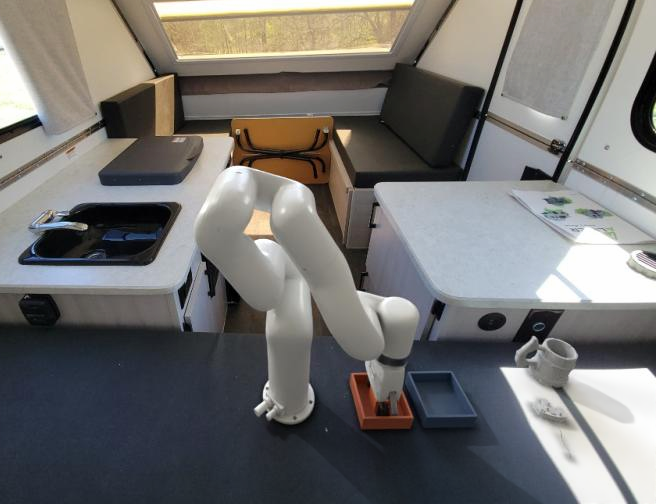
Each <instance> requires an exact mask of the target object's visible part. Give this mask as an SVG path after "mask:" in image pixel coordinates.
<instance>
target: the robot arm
mask: <svg viewBox="0 0 656 504" xmlns="http://www.w3.org/2000/svg"><path fill="white" fill-rule="evenodd" d="M255 210H256V211H259V212H264V213H267V214H269V227H270V232H271V234H272V236H273V237H274V239H275V240H276V241H274V240H271V239H267V238H259V239H255V240H254V239H252V238H251V236H249V235H247V234H246V233H244V232H245V231H246V229H247V227H248V226H249V224H250V222H251V220H252V218H253V216H254V211H255ZM192 232H193V233H192V236H193V239H194V243H195V245H196V247H197V249H198V250H199V251H200V252H201V254H202V255H203V256H204V257H205V258H206V259H207V260H208V261H209V262H210V263H212V265H214V266H215V267H216V268H217V270H218V271H219V272H220V274H221V275H222V276H223V277H224V278H225V280H226V281H227V282H228V283H229V284H230V286H232V288H233V290H235V291H236V292H237V294H238V295H239V296H240V297H241V298H242V299H243V300H244V301H245V303H246V304H247V305H249V306H250V307H251V308H253V309H254V310H256V311H259V312H266V316H265V317H266V318H265V339H266V346H267V347H266V349H267V369H268V370H267V371H268V372H267V373H268V380H267V381H266V383H265V384H264V388H263V391H262V402H261V403H259V404H258V405H257V406H256V407H255V408H253V412H254V414H255V415H256V417H258V418H259V417H262V415H263V414H264V413H265V412H267V413H266V414H265V418H266V420H267V421H269V422H270V421H271V420H272V419H273V420H275V421H276V422H278V423H281V424H284V425H297V424H299V423H303V422H304V421H305V420H307V419H308V418H309V416H310V415H311V414H312V412H313V409H314V408H315V407H314V406H315V392H314V389H313V387H312V385H311V383H310V371H311V370H310V369H311V353H312V351H311V349H312V343H313V338H314V320H313V319H314V318H313V307H312V298H313V300H314V302H315V304H316V306H317V309H318V310H319V313H320V315H321V317H322V319H323V321H324V323H325V325H326V327H327V329H328V331H329V332H330V334H331V335H332V337H333V338H334V339H335V341H336V342H337V344H338V345H339V346H340V347H341V349H342V350H343V351H344V352H345V353H346V354H347V355H348V356H349V357H351V358H353V359H355V360H358V361H360V362H364V366H365V370H366V373H367V374H368V380H367V387H368V388H370V386H371V387H372V390H373V393H374V396H375V398H376V399H377V401H379V402H380V403H379V404H378V405H377V409H376V416H390V415H391V416H398V410H397V401H398V400H399V398H400V396H401V392H402V390H403V387H404V383H405V375H406V374H405V373H406V371H405V370H406V366H407V364H408V361H409V358H410V355H411V351H412V348H413V344H414V341H415V337H416V334H417V330H418V327H419V322H420V313H419V309H418V308H417V307H416V305H415V304H413V302H411V301H410V300H408V299H406V298H403V297H401V296H389V297H386V296H382V295H377V294H373V293H370V292H366V291H362V290H357V288H356V285H355V282H354V278H353V274H352V271H351V268H350V266H349V263H348V261H347V258H346V257H345V255H344V253H343V252H342V251H341V250H340V248H339V246H338V244H337V243H336V242H335V240H334V238H333V237H332V235H331V233H330V232H329V231H328V229H327V227H326V226H325V224H324V223H323V221H322V219H321V218H320V216H319V215H318V211H317V206H316V200H315V196H314V193H313V192H312V190H311V189H310V188H309V187H308V186H306V185H305V184H303V183H302V182H299V181H296V180H295V179H290V178H287V177H284V176H281V175H277V174H273V173H270V172H266V171H264V170H263V171H262V170H259V169H256V168H252V167H249V166H243V165H234V166H229V167H227V168H225V169H224V170H222V171H221V172H220V173H219V175H218V176H217V178H216V180H215V181H214V183H213V186H212V187H211V189H210V191H209V193H208V194H207V196H206V199H205V201H204V203H203V204H202V206H201V208H200V210H199V212H198V213H197V216H196V218H195V221H194V224H193V229H192ZM386 399H389V402H384V401H385V400H386Z"/></svg>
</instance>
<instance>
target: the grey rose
mask: <svg viewBox="0 0 656 504" xmlns="http://www.w3.org/2000/svg"><path fill="white" fill-rule="evenodd" d="M532 408H533V410H534V411H535V412H536V414H537V415H538V416H540V417H542V418H544V419H547V420H550V421H554V423H555V424H556V426H558V429H559V431H560V437H561V441H562V442H563V446H566V444H565V442H564V440H563V433H562V430H561V428H560V426H559V425H558V424H557V422H565V421H566V419H567V416H568V415H567V413H566V411H565V410H564V408H562V407H560V406H557V407H556V409H555V407H554V406H553V405H552V404H551V403H550V401H548V400H547V399H546V398H542V399H541V403H539V402H537V401H534V402H533V404H532ZM566 449H567V451H568V455H569V459H571V457H572V456H571V453H570V450H569V448H568V447H566Z"/></svg>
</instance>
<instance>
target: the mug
mask: <svg viewBox="0 0 656 504" xmlns="http://www.w3.org/2000/svg"><path fill="white" fill-rule="evenodd" d="M535 351H536V353H535V355H534V356H533V357H531V358H526V357H527V355H528V354H530V353H533V352H535ZM578 359H579V354H578V352H577V351H576V349H575V348H574V347H573V346H572V345H571V344H569V343H568V342H566V341H564V340H562V339H559V338H554V337H549V338H545V339H544V341H543V343H542V344H540V342H539V339H538V338H537V337H536V336H535V335H532V336H531V338H530V340H529V341H527V342H526V343H525V344H524V345H522V346H521V347H520V348H519V349H517V350H516V352H515V355H514V361H515V364H516V366H517V368H519V369H520V368H526V367H528V370H529V372H530V374H531V376H532V377H533V378H534V379H536V380H537V381H539V383H541V384H543V385H545V386H547V387H550V388H552V387H553V388H562V387H564V386H565V385H567V383H568V382H569V379H570V377H569V376H570V374H571V372H572V371H574V369H575V368H576V363H577V360H578Z"/></svg>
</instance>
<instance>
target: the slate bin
mask: <svg viewBox="0 0 656 504" xmlns="http://www.w3.org/2000/svg"><path fill="white" fill-rule="evenodd" d="M405 375H406V376H405V378H404V384H405V386H406V388H407V391H408V393H409V396H410V398H411V400H412V403H413V406H414V408H415V410H416V413H417V415H418V418H419V420H420V423H421V425H422V427H423V429H437V428H438V429H441V428H442V429H443V428H474V426H475V424H476V422H477V420H478V418H479V416H478V414H477V412H476V410H475V409H474V407H473V405H472V404H471V402H470V400H469V398H468V396H467V395H466V393H465V391H464V390H463V388H462V385H461V384H460V382H459V380H458V378H457V377H456V375H455V373H454V371H453V370H430V371H429V370H428V371H427V370H426V371H425V370H423V371H421V370H419V371H407V372H406V374H405Z"/></svg>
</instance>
